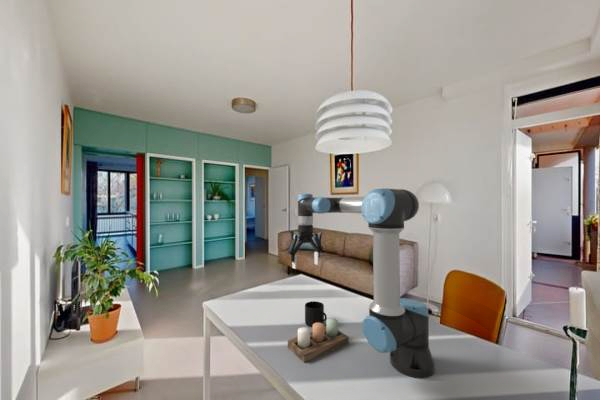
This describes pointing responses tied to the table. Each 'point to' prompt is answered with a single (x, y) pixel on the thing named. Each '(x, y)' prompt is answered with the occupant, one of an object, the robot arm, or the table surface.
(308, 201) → the robot arm
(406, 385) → the table surface
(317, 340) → the peach egg
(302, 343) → the white egg
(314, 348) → the wooden tray
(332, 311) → the table surface
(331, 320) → the pale green egg
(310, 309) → the mug
